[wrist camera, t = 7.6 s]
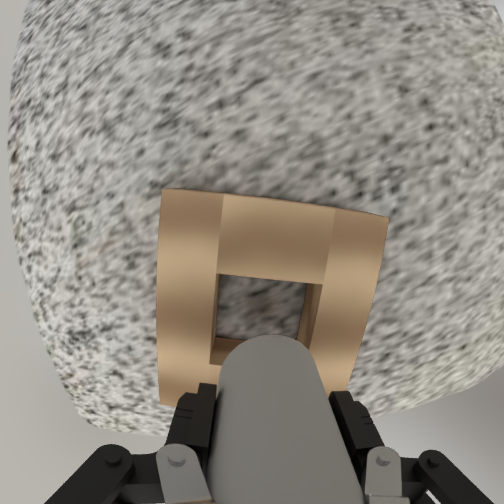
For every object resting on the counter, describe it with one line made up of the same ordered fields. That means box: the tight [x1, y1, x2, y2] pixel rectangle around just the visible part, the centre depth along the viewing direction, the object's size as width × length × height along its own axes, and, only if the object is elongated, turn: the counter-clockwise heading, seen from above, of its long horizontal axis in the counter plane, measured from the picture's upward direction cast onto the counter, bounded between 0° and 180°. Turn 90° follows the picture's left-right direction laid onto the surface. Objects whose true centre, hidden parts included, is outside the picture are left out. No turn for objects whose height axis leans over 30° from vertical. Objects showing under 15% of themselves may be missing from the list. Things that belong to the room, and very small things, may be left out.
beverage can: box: [205, 334, 365, 504], centre depth 8 cm, size 5×5×12 cm
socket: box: [156, 188, 389, 407], centre depth 21 cm, size 16×14×4 cm
